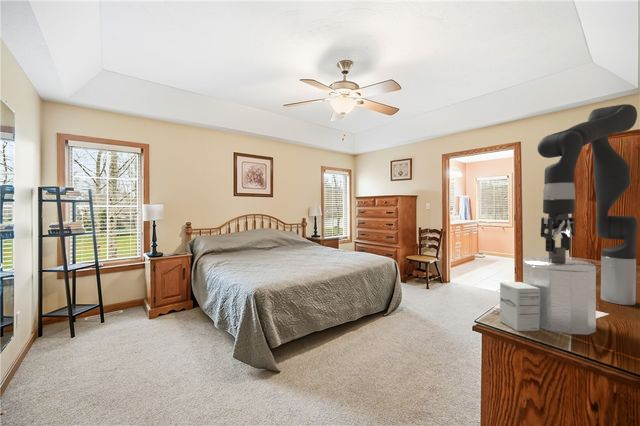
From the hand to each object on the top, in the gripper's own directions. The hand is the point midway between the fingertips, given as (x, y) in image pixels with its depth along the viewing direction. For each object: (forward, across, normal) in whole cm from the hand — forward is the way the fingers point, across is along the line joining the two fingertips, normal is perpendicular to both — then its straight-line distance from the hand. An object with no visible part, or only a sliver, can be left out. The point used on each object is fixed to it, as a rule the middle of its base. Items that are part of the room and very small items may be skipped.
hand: (557, 250), depth 87 cm
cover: (+22, 0, 0) cm, 23 cm away
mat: (+23, -16, -5) cm, 28 cm away
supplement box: (+23, +12, -4) cm, 26 cm away
